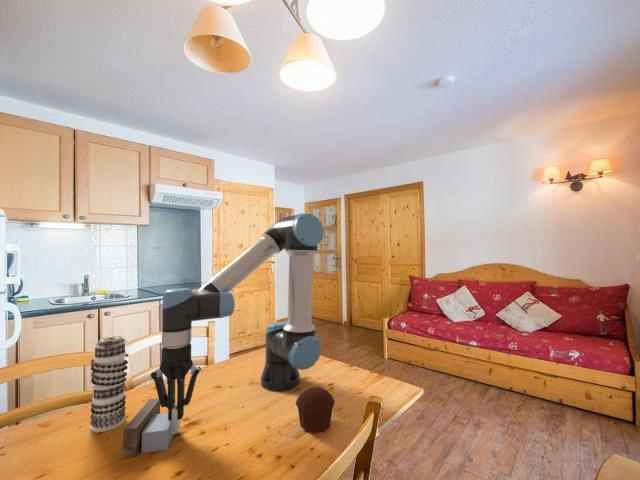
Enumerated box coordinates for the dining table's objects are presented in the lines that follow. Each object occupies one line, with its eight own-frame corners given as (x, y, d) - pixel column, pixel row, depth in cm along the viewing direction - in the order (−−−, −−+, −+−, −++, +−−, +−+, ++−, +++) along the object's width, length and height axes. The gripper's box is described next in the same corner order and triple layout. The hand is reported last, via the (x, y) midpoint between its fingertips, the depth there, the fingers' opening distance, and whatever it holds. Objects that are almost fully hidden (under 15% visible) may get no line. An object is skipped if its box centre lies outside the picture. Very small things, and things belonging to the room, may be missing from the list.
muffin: (321, 410, 95) (321, 378, 96) (342, 427, 86) (342, 392, 86) (288, 421, 89) (288, 387, 89) (307, 441, 79) (307, 403, 80)
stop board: (159, 422, 88) (160, 398, 89) (135, 456, 74) (136, 428, 74) (149, 423, 88) (149, 399, 88) (122, 457, 73) (123, 428, 73)
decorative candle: (93, 418, 90) (96, 336, 91) (129, 412, 94) (131, 332, 95) (83, 436, 82) (86, 344, 83) (123, 428, 85) (125, 340, 86)
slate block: (176, 429, 85) (176, 411, 85) (167, 449, 76) (167, 430, 76) (153, 432, 84) (153, 414, 84) (141, 453, 75) (141, 433, 75)
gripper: (204, 339, 87) (203, 421, 86) (157, 341, 86) (156, 425, 85) (197, 347, 80) (196, 436, 79) (146, 350, 78) (144, 441, 77)
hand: (175, 430), depth 82 cm, fingers closed
